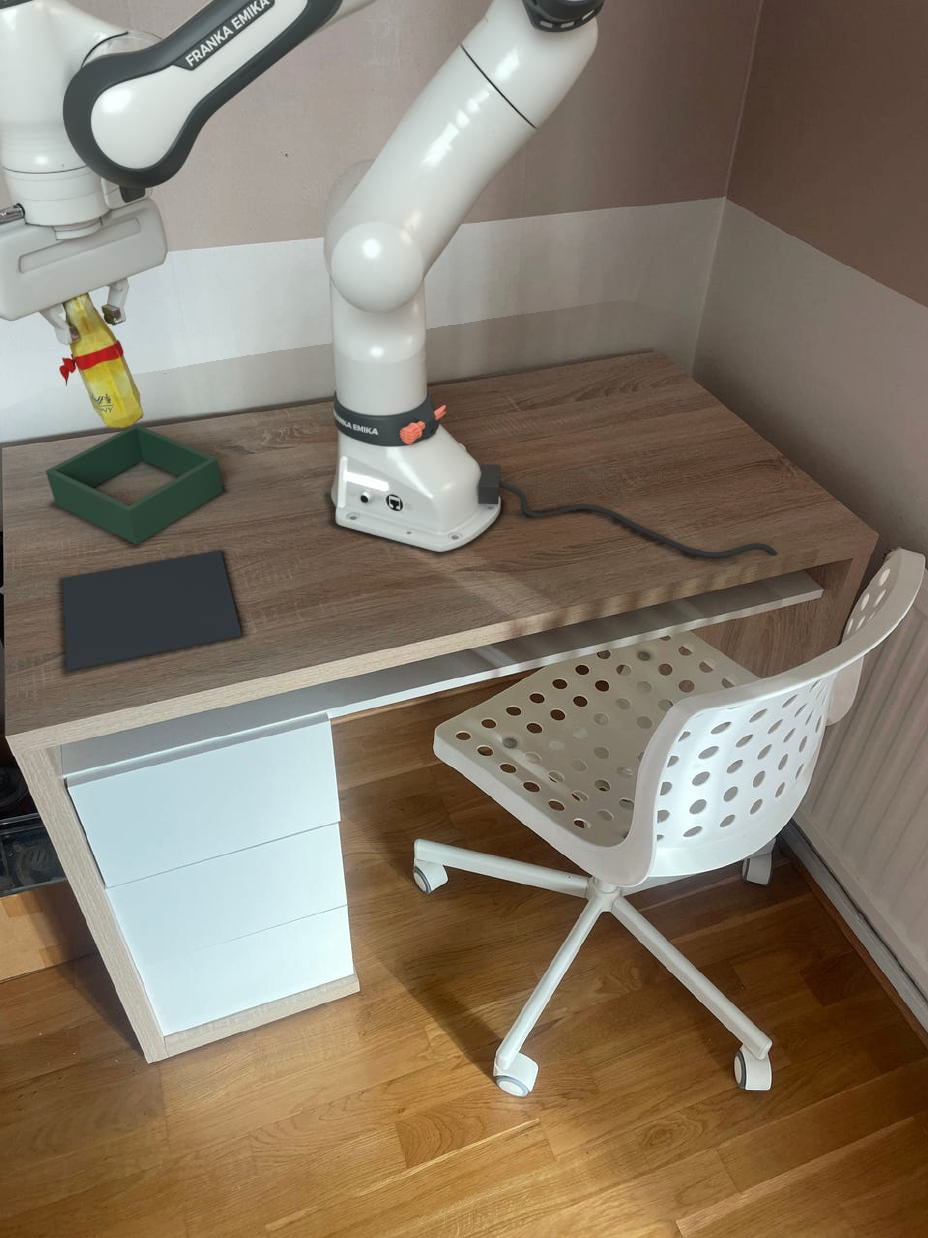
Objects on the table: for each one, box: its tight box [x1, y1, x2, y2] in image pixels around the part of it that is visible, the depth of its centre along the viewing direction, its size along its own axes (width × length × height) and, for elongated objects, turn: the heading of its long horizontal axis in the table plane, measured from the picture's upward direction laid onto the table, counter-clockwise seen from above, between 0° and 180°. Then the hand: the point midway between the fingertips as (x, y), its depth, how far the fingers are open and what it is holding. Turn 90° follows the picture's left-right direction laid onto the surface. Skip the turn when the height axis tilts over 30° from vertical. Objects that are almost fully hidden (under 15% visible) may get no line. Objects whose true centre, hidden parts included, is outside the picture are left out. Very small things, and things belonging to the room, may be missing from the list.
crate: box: [45, 423, 224, 545], centre depth 124 cm, size 15×15×5 cm
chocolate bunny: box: [58, 292, 144, 429], centre depth 102 cm, size 7×11×15 cm, turn 26°
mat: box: [62, 549, 243, 672], centre depth 109 cm, size 18×16×1 cm
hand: (93, 331), depth 101 cm, fingers closed on chocolate bunny, 4 cm apart
